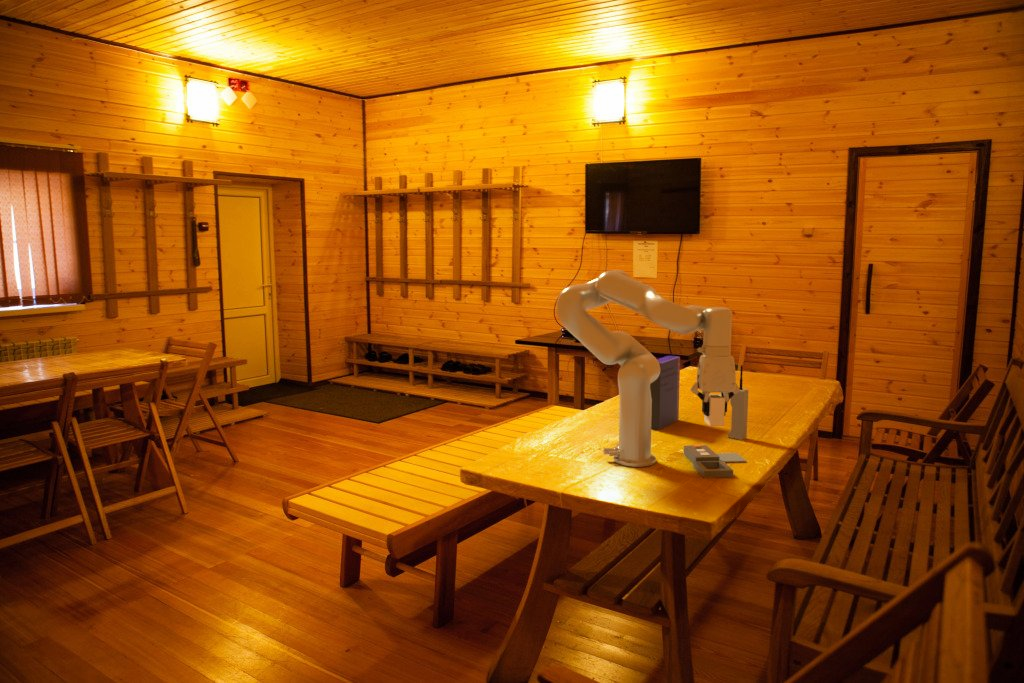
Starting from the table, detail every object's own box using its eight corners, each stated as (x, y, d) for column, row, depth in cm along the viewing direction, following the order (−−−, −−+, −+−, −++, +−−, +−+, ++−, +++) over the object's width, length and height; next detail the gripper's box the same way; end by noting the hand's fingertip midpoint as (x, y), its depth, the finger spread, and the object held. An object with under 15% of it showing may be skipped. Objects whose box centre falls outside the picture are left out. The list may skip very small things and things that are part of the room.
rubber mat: (720, 463, 212) (720, 461, 211) (711, 455, 219) (711, 453, 219) (746, 462, 212) (746, 460, 212) (736, 454, 220) (736, 452, 220)
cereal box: (666, 418, 265) (667, 355, 262) (678, 420, 262) (680, 356, 259) (646, 428, 251) (647, 361, 248) (659, 430, 248) (660, 363, 245)
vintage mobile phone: (732, 435, 241) (735, 363, 237) (746, 438, 238) (749, 364, 234) (727, 438, 238) (730, 364, 235) (742, 440, 235) (745, 366, 231)
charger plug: (709, 426, 199) (711, 397, 198) (704, 421, 204) (705, 393, 203) (723, 425, 199) (725, 397, 198) (718, 421, 204) (719, 393, 203)
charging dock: (703, 477, 198) (704, 465, 198) (681, 455, 220) (681, 443, 219) (733, 477, 199) (733, 464, 198) (708, 454, 220) (708, 443, 220)
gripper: (691, 353, 194) (689, 418, 197) (751, 353, 195) (748, 417, 198) (683, 349, 202) (681, 412, 204) (740, 349, 203) (738, 411, 205)
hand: (714, 414), depth 201 cm, fingers closed on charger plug, 4 cm apart
